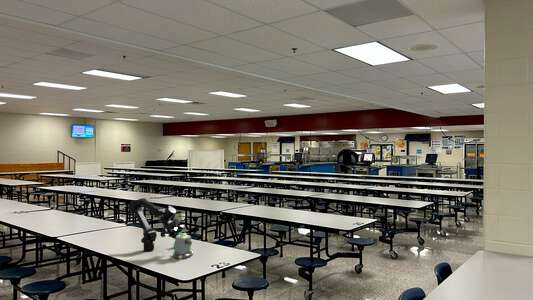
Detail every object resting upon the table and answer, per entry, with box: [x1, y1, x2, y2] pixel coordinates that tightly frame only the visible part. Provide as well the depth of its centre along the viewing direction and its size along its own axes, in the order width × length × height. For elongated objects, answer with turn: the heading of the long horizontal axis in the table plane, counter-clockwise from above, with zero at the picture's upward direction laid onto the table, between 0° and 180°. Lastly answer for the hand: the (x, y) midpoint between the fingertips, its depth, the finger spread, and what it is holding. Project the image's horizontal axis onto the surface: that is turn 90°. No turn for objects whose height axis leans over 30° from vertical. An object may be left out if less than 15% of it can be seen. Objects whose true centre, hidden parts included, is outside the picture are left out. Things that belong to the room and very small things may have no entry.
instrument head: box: [173, 232, 193, 255], centre depth 245 cm, size 10×10×13 cm
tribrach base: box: [172, 250, 194, 261], centre depth 246 cm, size 13×13×4 cm
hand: (179, 240), depth 247 cm, fingers closed, pressing on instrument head
